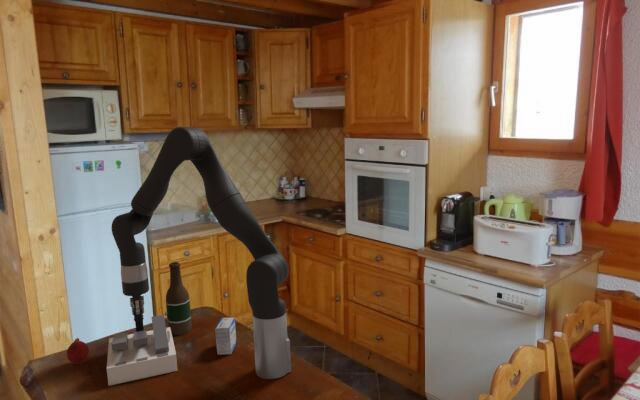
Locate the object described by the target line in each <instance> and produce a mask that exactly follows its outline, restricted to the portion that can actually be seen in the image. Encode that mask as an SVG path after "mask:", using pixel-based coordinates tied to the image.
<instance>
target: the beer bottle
mask: <svg viewBox="0 0 640 400" xmlns="http://www.w3.org/2000/svg"><path fill="white" fill-rule="evenodd" d="M181 266H182V265H181V263H180V262H179V261H173V262H170V263H169V264H168V267H169V279H170V281H169V287H168V289H167V291H166V294H165V308H166V316H167V317H166V319H167V327H170V329H171V333H172V336H183V335H186V334H188V333H189V332H191V331H192V327H193V325H192V314H191V301H190V294H189V292H188V289H187V288H186V287H185V286H184V284H183V281H182V273H181Z"/></svg>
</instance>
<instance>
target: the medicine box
mask: <svg viewBox="0 0 640 400" xmlns="http://www.w3.org/2000/svg"><path fill="white" fill-rule="evenodd" d="M214 330H215V331H214V332H215V341H216V352H217V355H219V356H223V355H232V353H233V351H234V349H235V347H236V344H237V332H236V319H235V317H221V319H219V322H218V323H217V326H216V327H215V329H214Z"/></svg>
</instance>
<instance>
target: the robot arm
mask: <svg viewBox="0 0 640 400" xmlns="http://www.w3.org/2000/svg"><path fill="white" fill-rule="evenodd" d="M184 161H190V162H191V163H192V164H193V166H194V167H195V168H196V170H197V171H198V173H199V176H201V179H202V182H203V186H204V193H205V198H206V203H207V205H208V208H209V209H210V211H211V212H212V214H213V216H214V218H215V219H216V220H217V222H218V223H219V226H220V227H222V228H223V229H224V230H225V231H226V232H227V233H228V234H230V236H233V237H234V238H236V239H237V240H238V241H240V242H241V244H243V246H245V247H246V248H247V250H248V251H249V253H250V254H251V256H252V258H253V259H254V260H253V261H251V262H250V264H248V267H247V269H246V275H245V276H246V289H247V298H248V299H247V300H248V304H249V306H250V308H251V313H252V328H253V345H254V347H253V348H254V363H255V364H254V365H255V374H256V375H257V377H259V378H260V379H264V380H276V379H280V378H282V377H284V376H285V375H287V374H289V373H292V361H291V341H290V339H289V337H288V325H287V323H288V322H287V305H286V302H285V300H284V299H282V298H279V297H280V296H279V289H278V288H279V286H280V285H281V284H283V283H284V282H285V281H286V280H287V279H288V277H289V273H290V269H289V264H288V263H287V260H286V258H285V257H284V256H283V254H282V253H281V252H280V250H279V249H278V247H276V245H275V244H274V243H273V241H271V239H270V237H269V236H268V235H267V233H266V232H265V230H264V229H263V228H262V226H261V225H260V223H259V221H258V220H257V218H256V217H255V215H254V214H253V212H252V211H251V209H250V207H249V205H248V203H247V201H246V200H245V199H244V197H243V195H242V194H241V191H239V190H238V188H237V187H236V185H235V183H234V182H233V180H232V178H231V177H230V175H229V174H228V172H227V170H226V169H225V168H224V166H223V164H222V163H221V160H220V159H219V156H218V154H217V152H216V150H215V148H214V147H213V144H212V143H211V140H210V138H209V136H208V135H207V133H206V132H205V131H204V130H202V129H200V128H198V127H195V126H194V127H193V126H178V127H175V128H172V130H170V131H169V133H168V134H167V136H166V138H165V140H164V141H163V144H162V147H161V149H160V150H159V153H158V155H157V157H156V159H155V161H154V163H153V166H152V168H151V170H150V172H149V173H148V175H147V177H146V178H145V180H144V182H143V183H142V185H141V186H140V187H139V189H138V190H137V192H136V193H135V194H134V196H133V198H132V199H131V202H130V205H131V210H130V211H129V212H125V213H122V214H119V215H117V216H115V218H113V220H112V223H111V234H112V237H113V239H114V241H115V245H116V247H117V249H118V251H119V259H120V279H121V289H122V295H124V296H126V297H129V305H130V307H131V315H133V321H134V323H135V331H136V332H137V331H142V330H144V329H145V328H144V327H145V326H144V313H145V299H144V297H145V296H144V295H145V294H146V293H148V292H149V291H150V283H149V272H148V266H147V262H146V252H145V246H144V244H143V243H141V242H137V240H136V238H135V236H137V235H138V234H141V233H142V232H144V231H145V230H146V229H147V227H148V226H149V224H150V222H151V220H152V218H153V215H154V212H155V211H156V210H157V208H158V207H159V205H160V204H161V202H162V201H163V200H164V199H165V197H166V195H167V193H168V190H169V186H170V182H171V177H172V176H173V174H174V173H175V171H176V169H178V167H179V166H180V165H182V163H183V162H184Z"/></svg>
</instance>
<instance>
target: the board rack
mask: <svg viewBox="0 0 640 400" xmlns="http://www.w3.org/2000/svg"><path fill="white" fill-rule="evenodd" d="M146 332H147V343H148V344H142V345H137V346H134V343H133V336H134V333H131V334H130V333H129V334H127V336H128V339H127V347H126V348H123V349H117V350H112V341H113V338H114V336H113V337H109V338H108V348H107V357H106V359H107V361H106V374H107V375H106V376H107V385H108V387H109V386H114V385H118V384H122V383H127V382H132V381H137V380H141V379H146V378H150V377H156V376H159V375H163V374H169V373H173V372H178V369H179V368H178V360H177V353H176V348H175V344H174V343H175V342H174V338H173V335H172V333H171V329H170V327H168V326H166V332H167V339H168V345H169V351H168V352H164V353H159V354H156V351H155V342H154V334H153V329H151V330H146Z"/></svg>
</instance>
